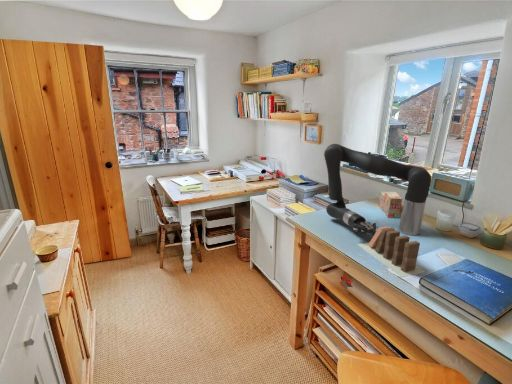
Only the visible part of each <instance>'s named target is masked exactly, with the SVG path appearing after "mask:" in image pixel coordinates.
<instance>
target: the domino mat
mask: <svg viewBox="0 0 512 384" xmlns="http://www.w3.org/2000/svg"><path fill="white" fill-rule="evenodd" d="M369 243H370V241H368V242H363V243H357V246H358V247H360V248H361V249H363V250H364V251H366V252H367V253H368V254H369V255H370V256H372V257H374V258H375V259H376V260H377V261H379V262H380V263H381V264H383V265H384V266H385V267H387V268H388V269H390V270H391V271H392V272H394V273H395V274H396V275H398V276H399V277H400V278H404V277H408V276H411V275H416V274H420V273H421V274H422V273H426V271H425V270H424V269H423V268H422V267H419V266H418V265H417V264H416V267H415V270H414V271H409V272H403V271H402V270H401V265H402V264H401V265H396V266H395V265H393V264H392V259H385V258H384V257H383V254H384V253H379V254H378V253H377V252H376V251H375V250H376V247H375V248H370V247H369V245H368V244H369Z"/></svg>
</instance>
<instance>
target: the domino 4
mask: <svg viewBox="0 0 512 384" xmlns="http://www.w3.org/2000/svg"><path fill="white" fill-rule="evenodd" d="M420 245H421V243H420V242H419V241H417V240H414V241H413V240H412V241H409V242H406V243H405V248H404V254H403V259H402V265H401V270H402V271H403V272H409V271H414V270H415V267H416V265H417V262H418V255H419V251H420Z"/></svg>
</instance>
